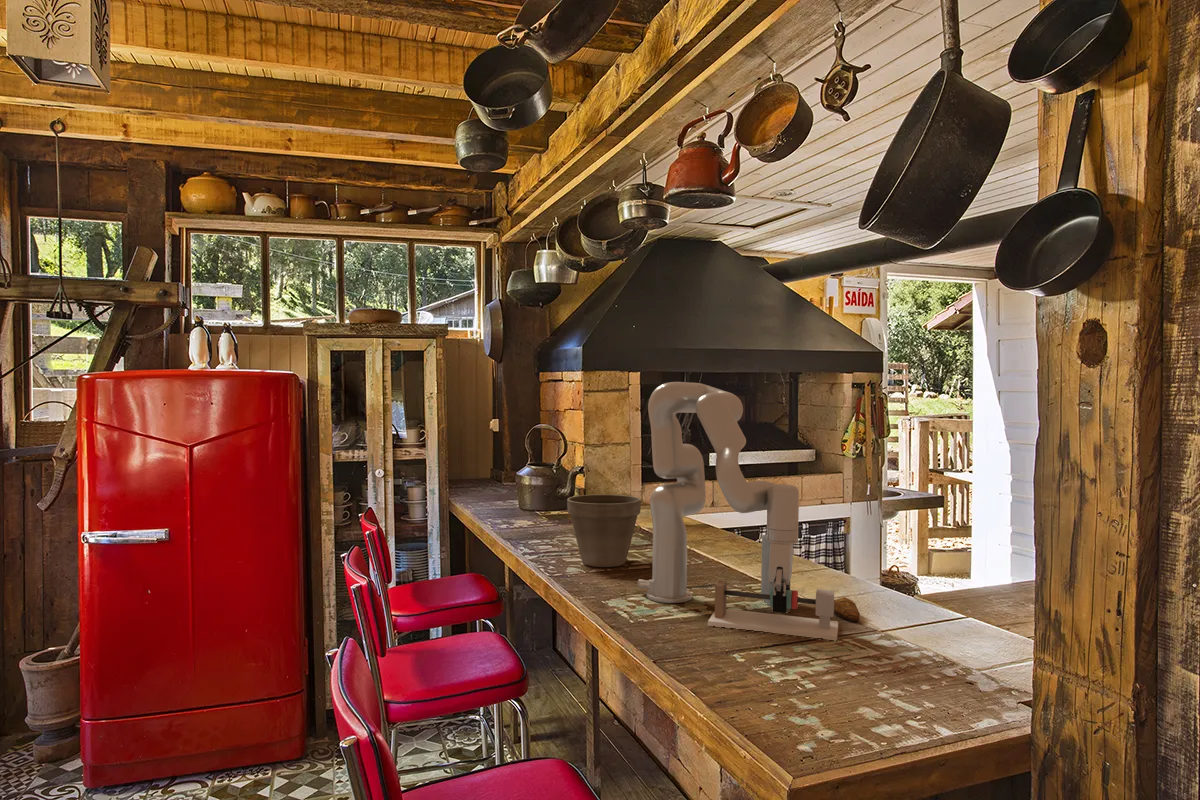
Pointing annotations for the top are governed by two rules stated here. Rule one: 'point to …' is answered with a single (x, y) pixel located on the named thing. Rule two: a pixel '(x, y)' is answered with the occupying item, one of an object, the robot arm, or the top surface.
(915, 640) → the top surface
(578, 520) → the plant pot
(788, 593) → the sleeve
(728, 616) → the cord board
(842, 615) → the croissant
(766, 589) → the hip flask
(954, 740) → the top surface
